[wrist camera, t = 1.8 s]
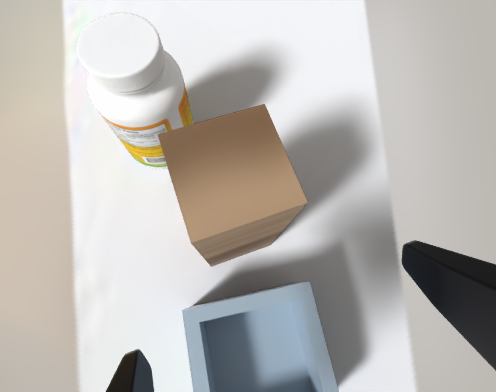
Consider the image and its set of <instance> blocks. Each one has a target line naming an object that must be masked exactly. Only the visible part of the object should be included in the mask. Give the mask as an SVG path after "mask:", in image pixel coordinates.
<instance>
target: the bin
mask: <svg viewBox="0 0 496 392" xmlns="http://www.w3.org/2000/svg"><path fill="white" fill-rule="evenodd" d="M182 312H183V319H184V326H185V334H186V341H187V348H188V355H189V362H190V370H191V377H192V384H193V391H194V392H339V390H338V387H337V383H336V379H335V375H334V371H333V368H332V364H331V360H330V356H329V352H328V349H327V345H326V341H325V337H324V333H323V330H322V326H321V322H320V318H319V314H318V311H317V307H316V303H315V299H314V296H313V292H312V288H311V284H310V281H308V282H299V283H293V284H288V285H284V286H279V287H275V288H270V289H266V290H262V291H257V292H253V293H248V294H244V295H239V296H235V297H231V298H226V299H222V300H217V301H213V302H208V303H204V304H200V305H195V306H191V307H189V308H186V309H184V310H182Z"/></svg>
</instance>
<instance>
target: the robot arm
mask: <svg viewBox="0 0 496 392" xmlns="http://www.w3.org/2000/svg"><path fill="white" fill-rule="evenodd" d="M402 265H403V267H404V269H405V270H406V271H407V273H408V274H409V275H410V276H411V278H412V279H413V280H414V282H415V283H416V284H417V285H418V287H419V288H420V289H421V290H422V292H423V293H424V294H425V295H426V297H427V298H428V299H429V300H430V302H431V303H432V304H433V305H434V306H435V307H436V309H438V311H439V312H440V313H441V314H442V315H443V316H444V317H445V318H446V319H447V320H448V321H449V322H450V323H451V324H452V325H453V326H454V327H455V328H456V330H458V332H459V333H460V334H461V335H462V336H463V337H464V338H465V339H466V340H467V341H468V342H469V343H470V344H471V345H472V346H473V347H474V348H475V349H476V350H477V352H479V353H480V355H481V356H482V357H483V358H484V359H485V360H486V361H487V362H488V363H489V364H490V365H491V366H492V367H493V368H494V369H495V370H496V265H495V264H492V263H489V262H486V261H482V260H479V259H476V258H472V257H469V256H466V255H463V254H459V253H456V252H453V251H449V250H446V249H443V248H439V247H436V246H433V245H430V244H426V243H423V242H419V241H411V242H409V243H406V244H404V245H403V250H402ZM106 392H154V387H153V378H152V370H151V367H150V364H149V363H148V361H147V359H146V358H145V356H144V355H143V353H142V352H141V351H140V350H139V349H137V350H134V351H131V352H129V353H127V354H125V355H124V357H123V358H122V360H121V362H120V364H119V366H118V368H117V370H116V372H115V374H114V376H113V378H112V380H111V382H110V384H109V386H108V388H107V390H106Z"/></svg>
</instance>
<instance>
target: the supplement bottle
mask: <svg viewBox="0 0 496 392" xmlns="http://www.w3.org/2000/svg"><path fill="white" fill-rule="evenodd" d="M77 54H78V57H79V60H80V62H81V63H82V65H83V67H84V68H85V70H86V72H87V74H88V81H87V88H88V93H89V96H90V99H91V101H92V103H93V104H94V106H95V107H96V109H97V110H98V112H99V113H100V114H101V116H102V117H103V118H104V119H105V121H106V122H107V123H108V125H109V126H110V127H111V129H112V130H113V131H114V133H115V134H116V135H117V137H118V138H119V139H120V141H121V142H122V143H123V145H124V146H125V147H126V149H127V150H128V151H129V153H130V154H131V155H132V156H133V157H134V159H135V160H136V161H138V162H139V163H141V164H142V165H144V166H147V167H150V168H155V169H165V168H168V167H167V163H166V160H165V157H164V154H163V151H162V147H161V144H160V141H159V138H158V134H160V133H164V132H167V131H171V130H174V129H178V128H181V127H185V126H188V125H192V124H194V123H193V119H192V115H191V110H190V106H189V101H188V97H187V92H186V88H185V84H184V79H183V76H182V73H181V70H180V67H179V65H178V64H177V62H176V61H175V60H174V58H173V57H172V56H171V55H170V54H168V53H167V52H166V51H164V49H163V47H162V44H161V41H160V37H159V34H158V32H157V30H156V29H155V28H154V26H153V25H152V24H151V23H150V22H149V21H147V20H146V19H144V18H142V17H140V16H138V15H135V14H130V13H113V14H108V15H105V16H102V17H100V18H98V19H96V20H94V21H92V22H91V23H90V24H89V25H87V26H86V27H85V29H84V30H83V31H82V33H81V34H80V36H79V38H78V42H77Z"/></svg>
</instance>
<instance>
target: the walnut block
mask: <svg viewBox="0 0 496 392" xmlns="http://www.w3.org/2000/svg"><path fill="white" fill-rule="evenodd" d="M158 138H159V141H160V144H161V147H162V151H163V154H164V157H165V160H166V163H167V167H168V170H169V173H170V176H171V180H172V183H173V186H174V189H175V193H176V196H177V199H178V202H179V206H180V209H181V212H182V215H183V219H184V222H185V225H186V228H187V232H188V235H189V238H190V241H191V244H192V245H193V246H194V247H195V248H196V249H197V251H198V252H199V253H200V254H201V255H202V256H203V258H204V259H205V260H206V261H207V262H208V263H209V265H210V266H214V265H217V264H220V263H222V262H225V261H228V260H231V259H233V258H236V257H239V256H242V255H244V254H247V253H250V252H253V251H255V250H258V249H261V248H264V247H266V246H269V245H271V244H272V243H273V242H274V240H275V239H276V238H277V237H278V236H279V235H280V234H281V232H282V231H283V230H284V229H285V228H286V227H287V226H288V224H289V223H290V222H291V221H292V220H293V219H294V218H295V217H296V215H297V214H298V213H299V212H300V211H301V210H302V209H303V207H304V206H305V205H306V204H307V203H308V202H307V200H306V197H305V195H304V193H303V190H302V188H301V186H300V184H299V181H298V179H297V177H296V174H295V172H294V170H293V168H292V165H291V163H290V161H289V158H288V156H287V154H286V152H285V149H284V147H283V145H282V142H281V140H280V138H279V136H278V133H277V131H276V129H275V126H274V124H273V122H272V120H271V117H270V115H269V113H268V110H267V108H266V106H265V104H262V105H259V106H255V107H252V108H248V109H245V110H241V111H238V112H234V113H231V114H227V115H224V116H220V117H217V118H213V119H210V120H206V121H203V122H199V123H195V124H192V125H188V126H185V127H181V128H178V129H174V130H171V131H167V132H164V133H160V134H158Z"/></svg>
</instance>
